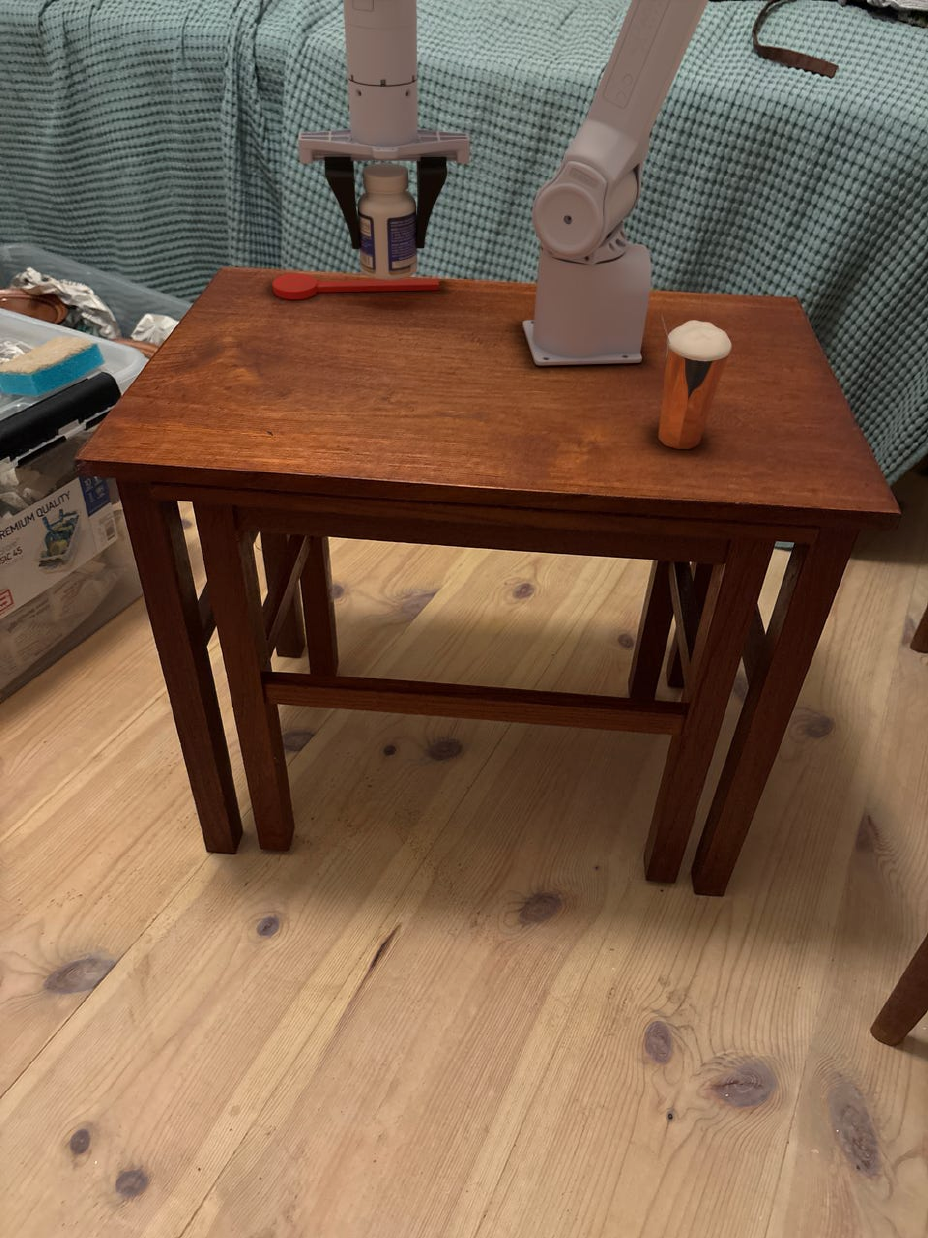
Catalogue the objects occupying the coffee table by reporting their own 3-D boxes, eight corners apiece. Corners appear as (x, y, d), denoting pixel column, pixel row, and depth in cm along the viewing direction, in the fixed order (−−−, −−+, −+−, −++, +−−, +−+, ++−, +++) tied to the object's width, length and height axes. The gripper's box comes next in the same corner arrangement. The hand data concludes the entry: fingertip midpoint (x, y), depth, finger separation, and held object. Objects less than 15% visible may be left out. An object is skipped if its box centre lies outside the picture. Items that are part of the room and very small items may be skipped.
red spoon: (436, 278, 93) (436, 270, 93) (440, 296, 90) (440, 288, 89) (274, 281, 92) (273, 273, 91) (272, 300, 88) (271, 291, 88)
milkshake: (633, 423, 73) (654, 302, 67) (699, 422, 74) (727, 302, 67) (646, 455, 70) (669, 331, 63) (714, 454, 71) (745, 330, 64)
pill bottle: (421, 261, 88) (420, 162, 82) (412, 283, 84) (411, 181, 78) (366, 257, 88) (361, 158, 82) (355, 279, 85) (350, 177, 79)
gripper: (290, 89, 72) (306, 262, 81) (475, 90, 73) (470, 261, 82) (294, 67, 77) (309, 232, 86) (467, 68, 78) (463, 231, 88)
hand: (387, 244), depth 85 cm, fingers closed on pill bottle, 5 cm apart
